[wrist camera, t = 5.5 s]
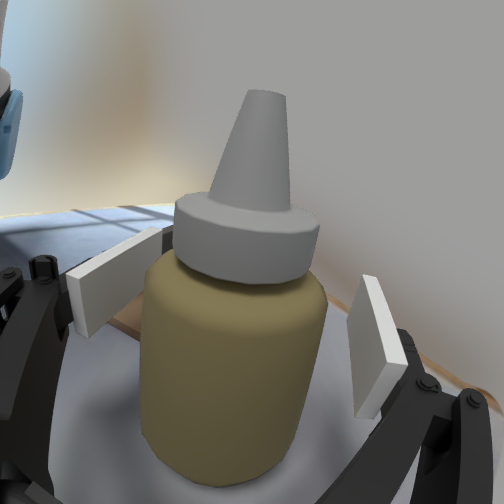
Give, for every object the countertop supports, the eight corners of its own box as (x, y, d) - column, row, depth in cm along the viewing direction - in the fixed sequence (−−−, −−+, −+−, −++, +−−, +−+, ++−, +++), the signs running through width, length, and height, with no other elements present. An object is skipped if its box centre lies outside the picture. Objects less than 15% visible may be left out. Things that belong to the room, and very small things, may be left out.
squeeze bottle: (211, 383, 20) (247, 109, 13) (303, 444, 15) (416, 136, 9) (120, 438, 14) (89, 83, 7) (219, 529, 9) (344, 38, 3)
